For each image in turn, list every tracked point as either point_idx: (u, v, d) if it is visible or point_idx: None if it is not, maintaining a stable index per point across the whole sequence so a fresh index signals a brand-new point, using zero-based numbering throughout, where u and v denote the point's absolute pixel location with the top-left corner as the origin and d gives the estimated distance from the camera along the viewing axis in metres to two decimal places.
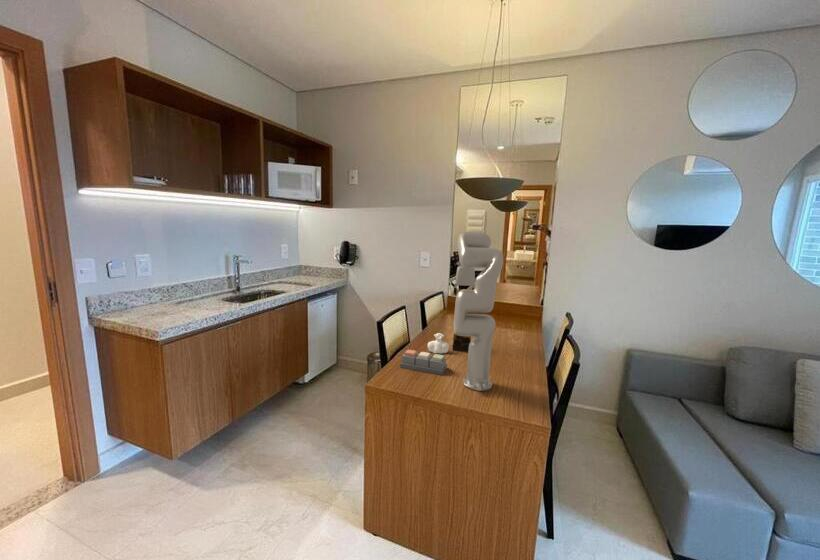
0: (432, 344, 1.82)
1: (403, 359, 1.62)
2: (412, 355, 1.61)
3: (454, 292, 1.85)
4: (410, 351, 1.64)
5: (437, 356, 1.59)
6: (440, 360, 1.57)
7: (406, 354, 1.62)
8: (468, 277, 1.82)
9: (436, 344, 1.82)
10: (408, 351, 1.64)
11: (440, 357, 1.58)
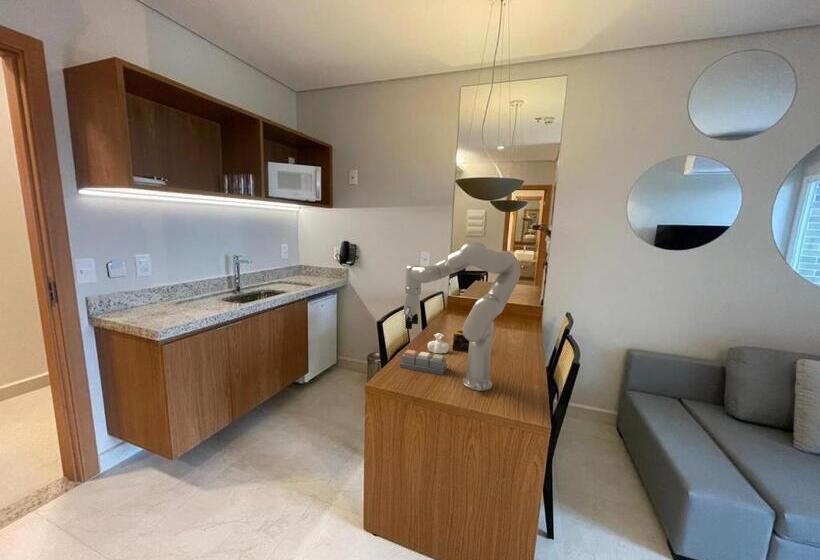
0: (432, 344, 1.82)
1: (403, 359, 1.62)
2: (412, 355, 1.61)
3: None
4: (410, 351, 1.64)
5: (437, 356, 1.59)
6: (440, 360, 1.57)
7: (406, 354, 1.62)
8: None
9: (436, 344, 1.82)
10: (408, 351, 1.64)
11: (440, 357, 1.58)
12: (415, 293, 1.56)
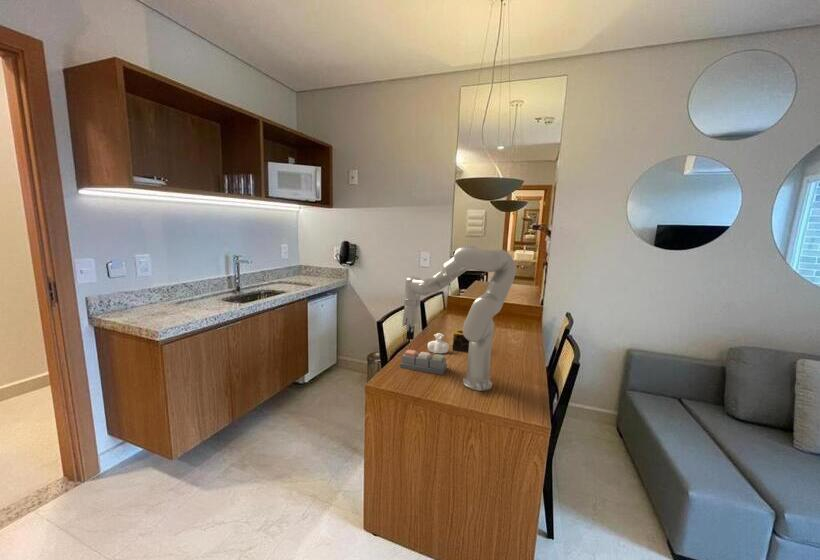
0: (432, 344, 1.82)
1: (403, 359, 1.62)
2: (412, 355, 1.61)
3: None
4: (410, 351, 1.64)
5: (437, 356, 1.59)
6: (440, 360, 1.57)
7: (406, 354, 1.62)
8: None
9: (436, 344, 1.82)
10: (408, 351, 1.64)
11: (440, 357, 1.58)
12: (414, 305, 1.57)
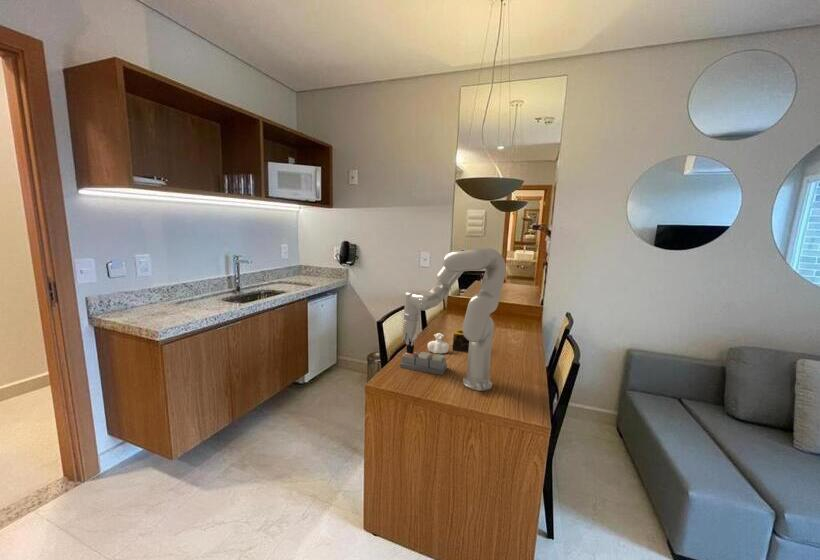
0: (432, 344, 1.82)
1: (403, 359, 1.62)
2: (412, 356, 1.61)
3: None
4: None
5: (437, 356, 1.59)
6: (440, 360, 1.57)
7: (406, 355, 1.62)
8: None
9: (436, 344, 1.82)
10: None
11: (440, 357, 1.58)
12: (414, 319, 1.58)
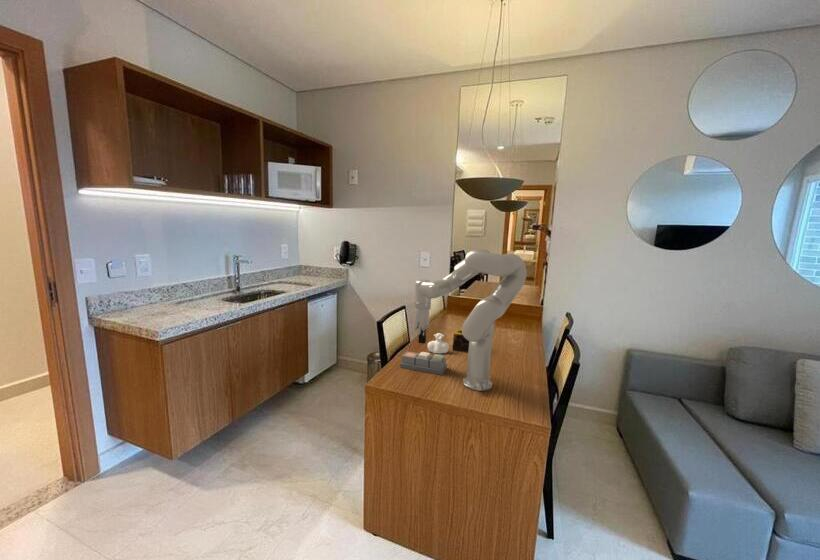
0: (432, 344, 1.82)
1: (403, 359, 1.62)
2: None
3: None
4: (410, 354, 1.64)
5: (437, 356, 1.59)
6: (440, 360, 1.57)
7: None
8: None
9: (436, 344, 1.82)
10: (408, 354, 1.64)
11: (440, 357, 1.58)
12: (425, 308, 1.55)
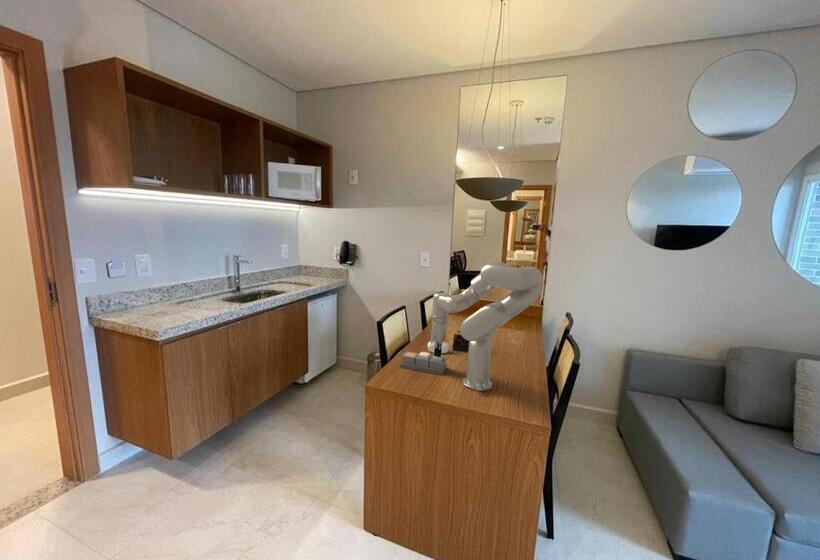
0: (432, 344, 1.82)
1: (403, 359, 1.62)
2: None
3: None
4: (410, 354, 1.64)
5: None
6: (440, 360, 1.57)
7: None
8: None
9: None
10: (408, 354, 1.64)
11: (440, 357, 1.58)
12: (442, 322, 1.53)
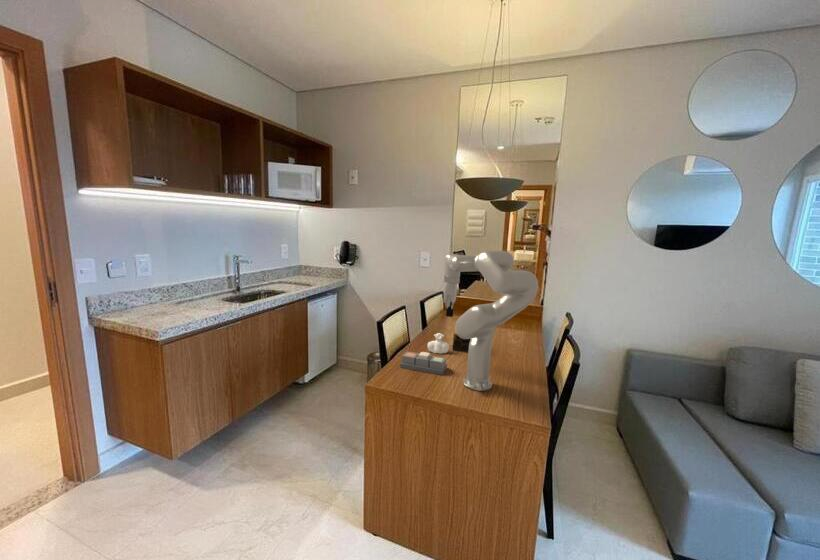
0: (432, 344, 1.82)
1: (403, 359, 1.62)
2: None
3: None
4: (410, 354, 1.64)
5: (437, 359, 1.59)
6: None
7: None
8: None
9: (436, 344, 1.82)
10: (408, 354, 1.64)
11: (440, 360, 1.58)
12: (455, 282, 1.58)
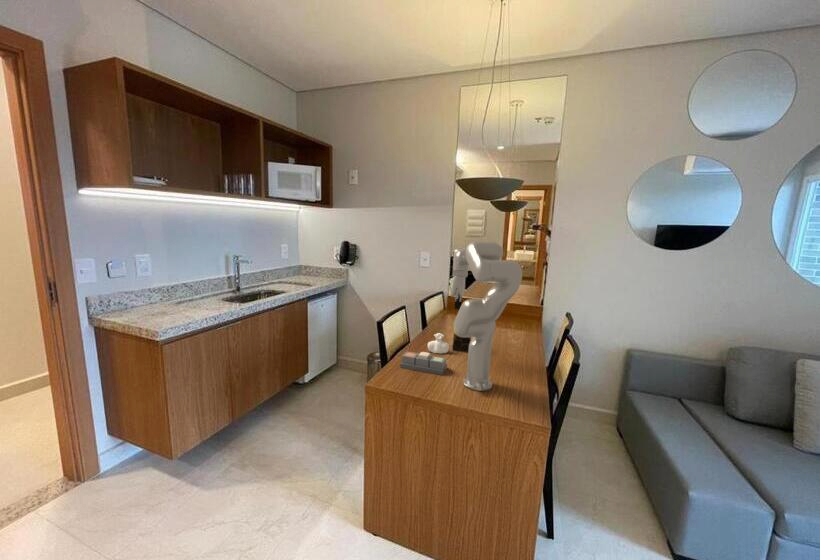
0: (432, 344, 1.82)
1: (403, 359, 1.62)
2: None
3: None
4: (410, 354, 1.64)
5: (437, 359, 1.59)
6: None
7: None
8: None
9: (436, 344, 1.82)
10: (408, 354, 1.64)
11: (440, 360, 1.58)
12: (463, 275, 1.64)
